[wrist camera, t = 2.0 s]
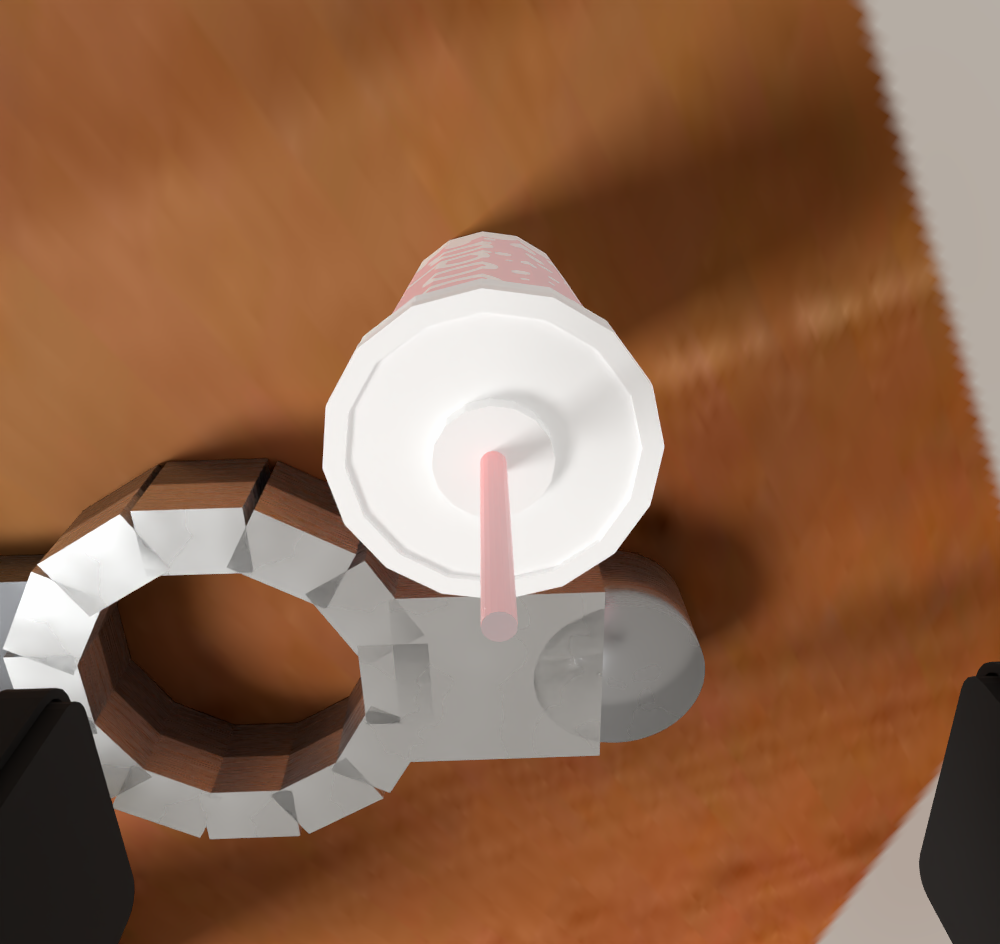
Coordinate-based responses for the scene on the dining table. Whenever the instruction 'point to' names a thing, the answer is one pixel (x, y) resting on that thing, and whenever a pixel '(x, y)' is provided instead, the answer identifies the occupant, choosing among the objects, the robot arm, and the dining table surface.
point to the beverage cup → (492, 431)
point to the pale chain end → (373, 637)
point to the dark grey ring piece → (3, 591)
